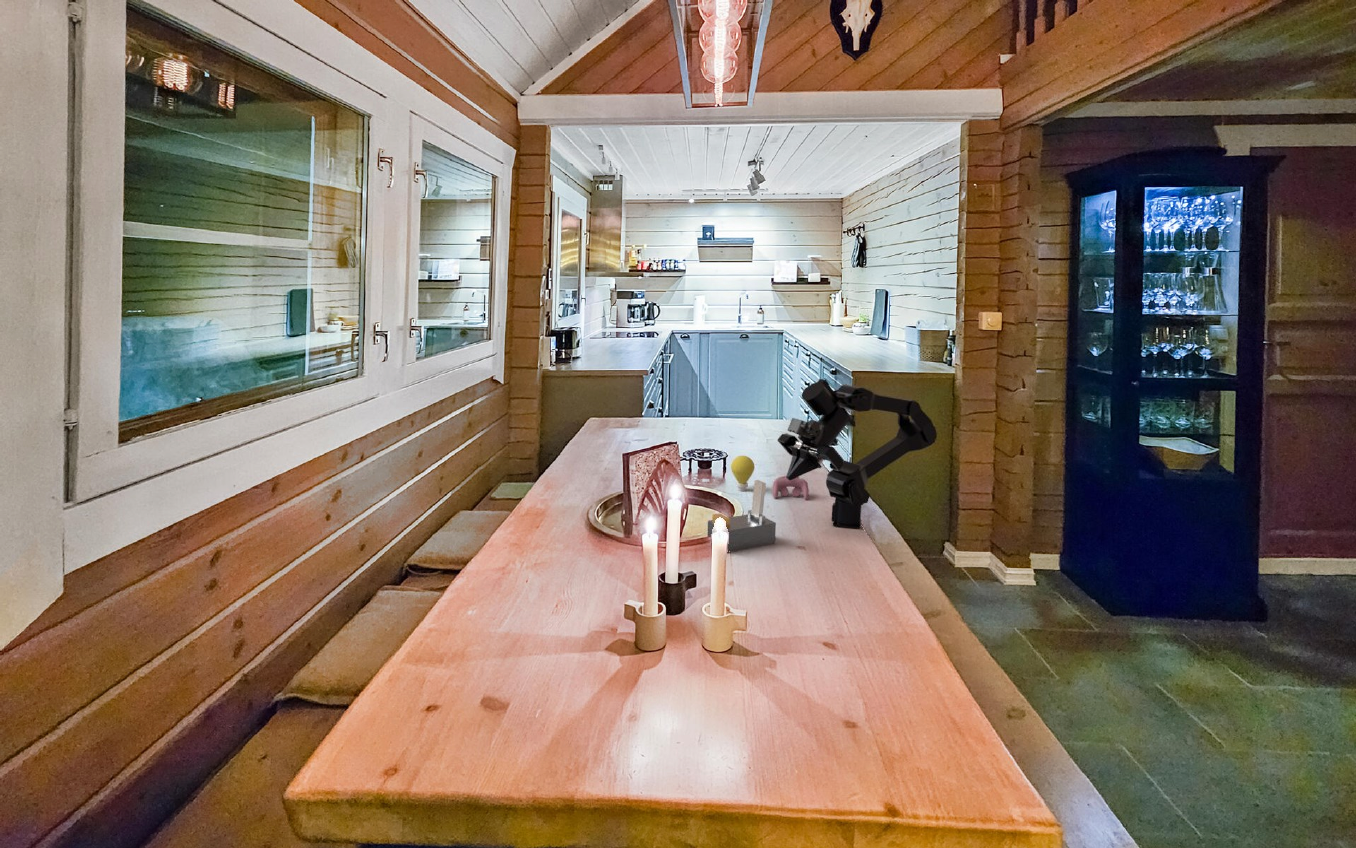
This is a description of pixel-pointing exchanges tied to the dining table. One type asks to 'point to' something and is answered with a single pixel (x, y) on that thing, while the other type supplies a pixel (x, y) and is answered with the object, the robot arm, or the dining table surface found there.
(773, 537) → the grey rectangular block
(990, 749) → the dining table surface
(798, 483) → the pink curved piece
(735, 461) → the light bulb
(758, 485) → the light grey flat bar
